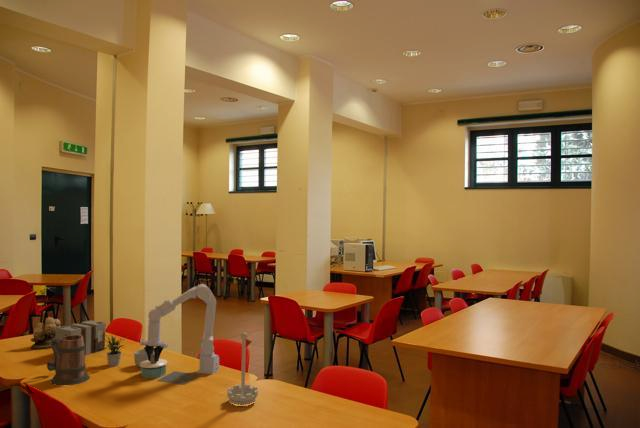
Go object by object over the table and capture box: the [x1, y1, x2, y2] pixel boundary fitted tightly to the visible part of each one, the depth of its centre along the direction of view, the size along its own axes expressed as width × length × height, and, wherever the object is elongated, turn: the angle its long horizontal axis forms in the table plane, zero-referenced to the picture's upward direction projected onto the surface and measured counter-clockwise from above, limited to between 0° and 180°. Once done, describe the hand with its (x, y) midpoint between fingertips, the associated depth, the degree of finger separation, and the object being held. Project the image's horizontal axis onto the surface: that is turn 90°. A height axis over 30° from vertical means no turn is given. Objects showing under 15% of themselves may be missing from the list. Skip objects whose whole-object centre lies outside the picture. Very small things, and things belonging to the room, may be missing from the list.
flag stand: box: [226, 331, 259, 405], centre depth 212 cm, size 13×13×30 cm
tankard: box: [46, 335, 91, 386], centre depth 234 cm, size 24×17×20 cm
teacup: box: [133, 348, 154, 369], centre depth 257 cm, size 14×11×8 cm
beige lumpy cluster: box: [30, 316, 62, 351], centre depth 287 cm, size 18×12×17 cm, turn 145°
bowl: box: [140, 364, 167, 379], centre depth 242 cm, size 11×11×4 cm
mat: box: [156, 370, 201, 386], centre depth 238 cm, size 15×15×1 cm
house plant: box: [99, 334, 128, 367], centre depth 256 cm, size 14×14×16 cm
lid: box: [139, 354, 168, 368], centre depth 242 cm, size 13×13×5 cm
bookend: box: [55, 320, 106, 356], centre depth 275 cm, size 16×25×16 cm, turn 154°
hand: (153, 361), depth 242 cm, fingers closed on lid, 3 cm apart
